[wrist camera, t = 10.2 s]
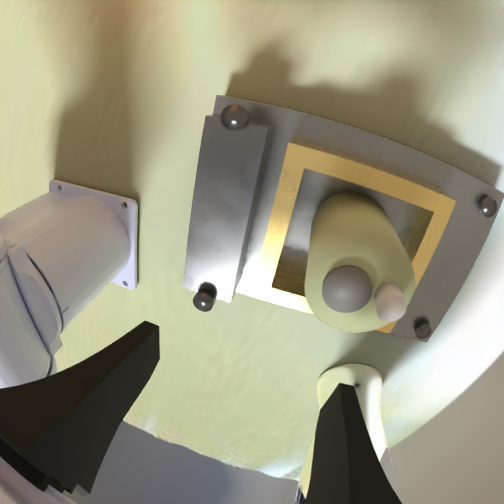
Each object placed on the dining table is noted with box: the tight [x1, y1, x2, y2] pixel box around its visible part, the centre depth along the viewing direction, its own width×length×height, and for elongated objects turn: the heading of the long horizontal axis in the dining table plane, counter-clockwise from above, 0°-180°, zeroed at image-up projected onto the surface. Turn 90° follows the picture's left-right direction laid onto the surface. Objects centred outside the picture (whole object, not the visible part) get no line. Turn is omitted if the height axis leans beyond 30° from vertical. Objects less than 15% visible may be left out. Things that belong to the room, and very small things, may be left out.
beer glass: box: [295, 363, 394, 504], centre depth 18 cm, size 7×7×15 cm
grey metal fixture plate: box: [183, 95, 504, 342], centre depth 16 cm, size 18×12×5 cm, turn 78°
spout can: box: [305, 192, 415, 333], centre depth 14 cm, size 5×5×7 cm
